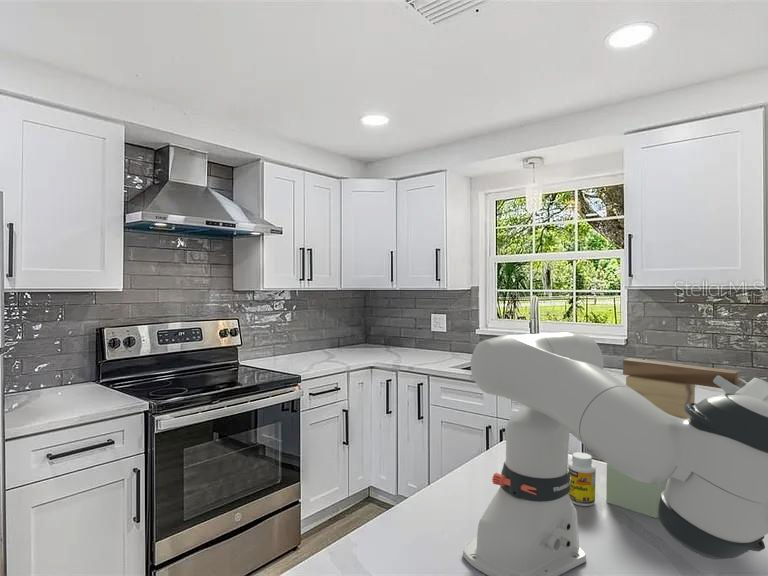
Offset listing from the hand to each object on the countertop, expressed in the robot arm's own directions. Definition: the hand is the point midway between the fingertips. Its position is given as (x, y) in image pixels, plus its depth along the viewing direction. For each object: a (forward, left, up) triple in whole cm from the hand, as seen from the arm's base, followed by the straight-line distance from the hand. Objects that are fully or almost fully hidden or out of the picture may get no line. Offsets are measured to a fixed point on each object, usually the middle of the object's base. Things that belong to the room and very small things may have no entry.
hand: (718, 375), depth 106 cm
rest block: (-11, +12, -28) cm, 33 cm away
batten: (0, +8, -2) cm, 8 cm away
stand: (0, +11, -28) cm, 30 cm away
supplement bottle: (-18, +21, -28) cm, 40 cm away
